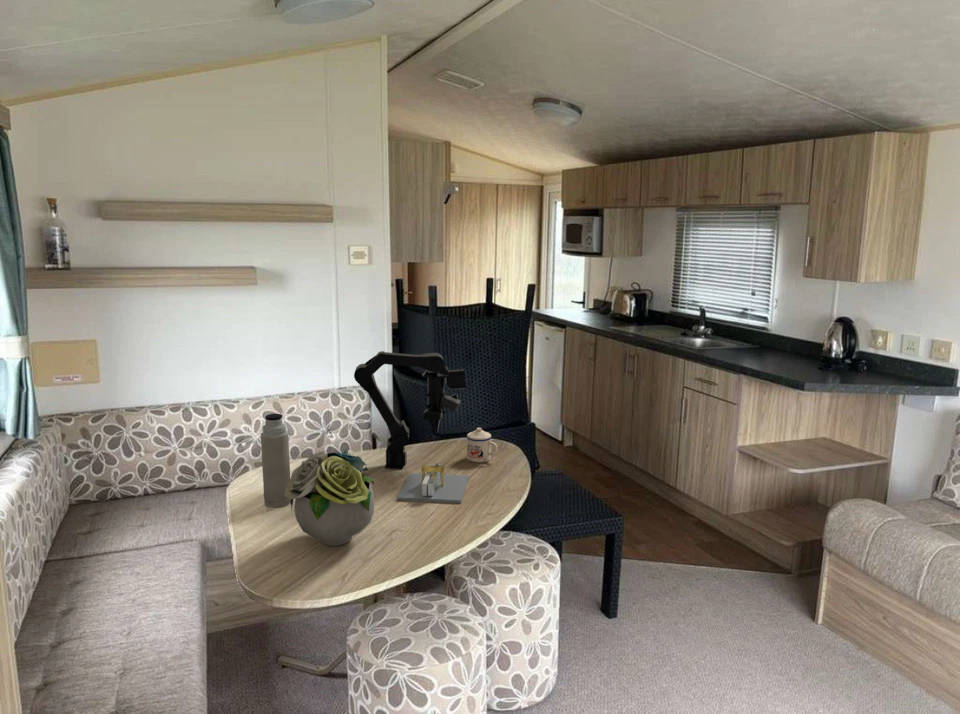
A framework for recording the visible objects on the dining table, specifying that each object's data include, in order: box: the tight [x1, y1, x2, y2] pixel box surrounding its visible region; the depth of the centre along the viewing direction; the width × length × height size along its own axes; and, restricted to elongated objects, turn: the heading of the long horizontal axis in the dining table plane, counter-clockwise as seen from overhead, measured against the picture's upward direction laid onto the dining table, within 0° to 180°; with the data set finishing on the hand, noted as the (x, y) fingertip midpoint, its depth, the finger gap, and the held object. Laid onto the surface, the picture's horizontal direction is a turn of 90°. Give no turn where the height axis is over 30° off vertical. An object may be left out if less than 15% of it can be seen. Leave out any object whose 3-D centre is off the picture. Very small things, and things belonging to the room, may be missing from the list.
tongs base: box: [397, 462, 469, 504], centre depth 223 cm, size 20×21×5 cm
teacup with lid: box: [466, 427, 499, 463], centre depth 250 cm, size 12×9×12 cm
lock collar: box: [421, 464, 445, 486], centre depth 223 cm, size 7×2×6 cm, turn 85°
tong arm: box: [428, 472, 440, 496], centre depth 222 cm, size 2×16×4 cm, turn 174°
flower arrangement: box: [284, 449, 375, 547], centre depth 185 cm, size 25×25×24 cm
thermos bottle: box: [260, 413, 291, 509], centre depth 208 cm, size 8×8×28 cm
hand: (436, 432), depth 243 cm, fingers closed
